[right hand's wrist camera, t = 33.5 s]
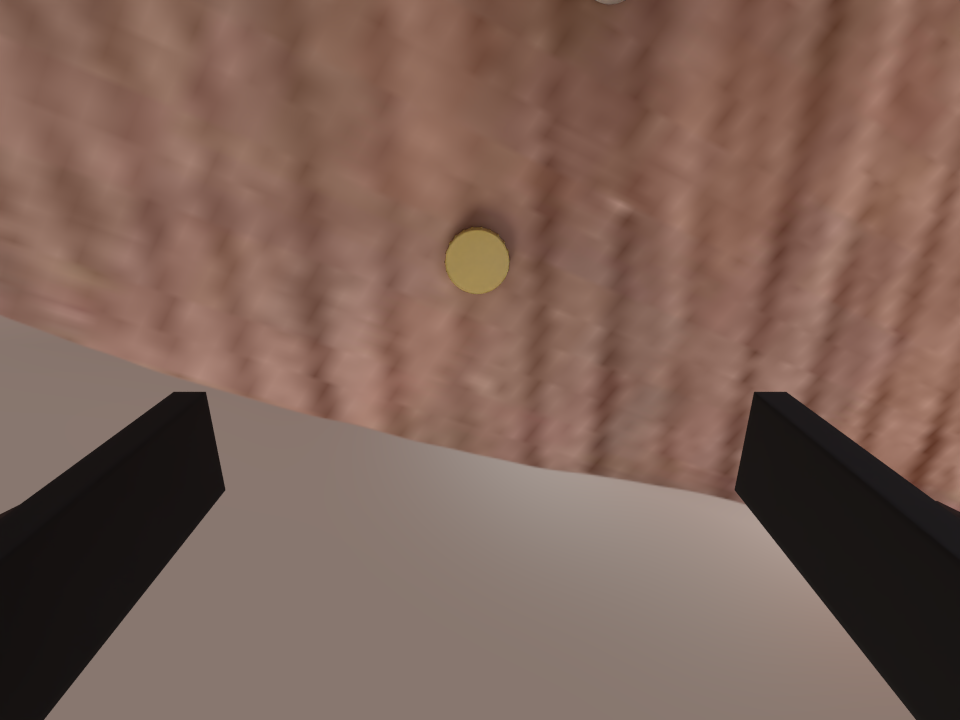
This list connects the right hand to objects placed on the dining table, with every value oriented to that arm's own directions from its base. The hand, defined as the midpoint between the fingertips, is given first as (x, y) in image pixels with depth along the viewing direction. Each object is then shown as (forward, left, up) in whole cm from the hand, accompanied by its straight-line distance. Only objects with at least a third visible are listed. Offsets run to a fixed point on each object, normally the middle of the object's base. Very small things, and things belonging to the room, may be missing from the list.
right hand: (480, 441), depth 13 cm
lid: (0, 0, -26) cm, 26 cm away
